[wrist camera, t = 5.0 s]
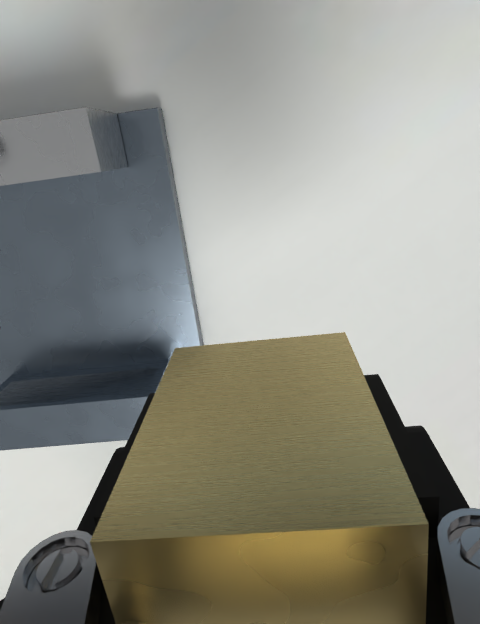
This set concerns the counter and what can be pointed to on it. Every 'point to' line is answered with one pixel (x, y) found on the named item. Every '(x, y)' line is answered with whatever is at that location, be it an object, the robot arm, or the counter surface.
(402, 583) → the brass block
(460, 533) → the robot arm
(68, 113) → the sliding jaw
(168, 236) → the vise
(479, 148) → the counter surface
